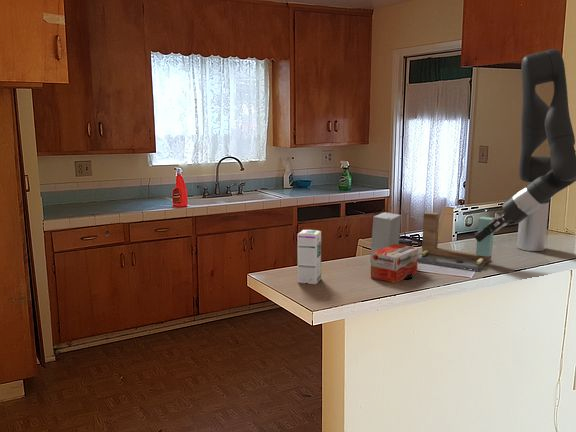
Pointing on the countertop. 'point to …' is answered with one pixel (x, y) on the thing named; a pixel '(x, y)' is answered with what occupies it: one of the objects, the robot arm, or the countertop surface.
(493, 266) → the countertop surface
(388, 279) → the medicine box
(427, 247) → the wooden l-shaped stand
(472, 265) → the flange plate
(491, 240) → the block
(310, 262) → the syrup box
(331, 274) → the countertop surface
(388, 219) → the skincare box
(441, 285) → the countertop surface
